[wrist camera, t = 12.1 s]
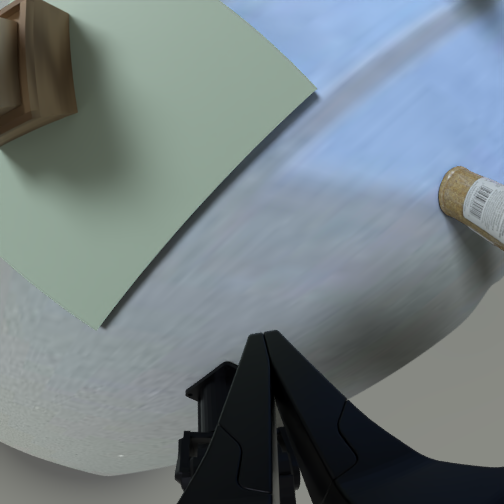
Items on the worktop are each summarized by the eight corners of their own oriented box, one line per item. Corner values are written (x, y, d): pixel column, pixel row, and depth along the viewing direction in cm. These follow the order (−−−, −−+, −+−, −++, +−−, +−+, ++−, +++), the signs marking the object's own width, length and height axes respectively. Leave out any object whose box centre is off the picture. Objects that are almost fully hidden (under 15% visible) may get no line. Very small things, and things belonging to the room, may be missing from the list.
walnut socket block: (77, 112, 14) (32, 118, 9) (-2, 147, 14) (-50, 166, 9) (68, 13, 11) (26, -8, 6) (-11, 58, 10) (-58, 57, 6)
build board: (98, 324, 22) (96, 330, 22) (-65, 178, 13) (-70, 180, 13) (313, 89, 16) (317, 88, 15) (84, -70, 7) (81, -74, 7)
